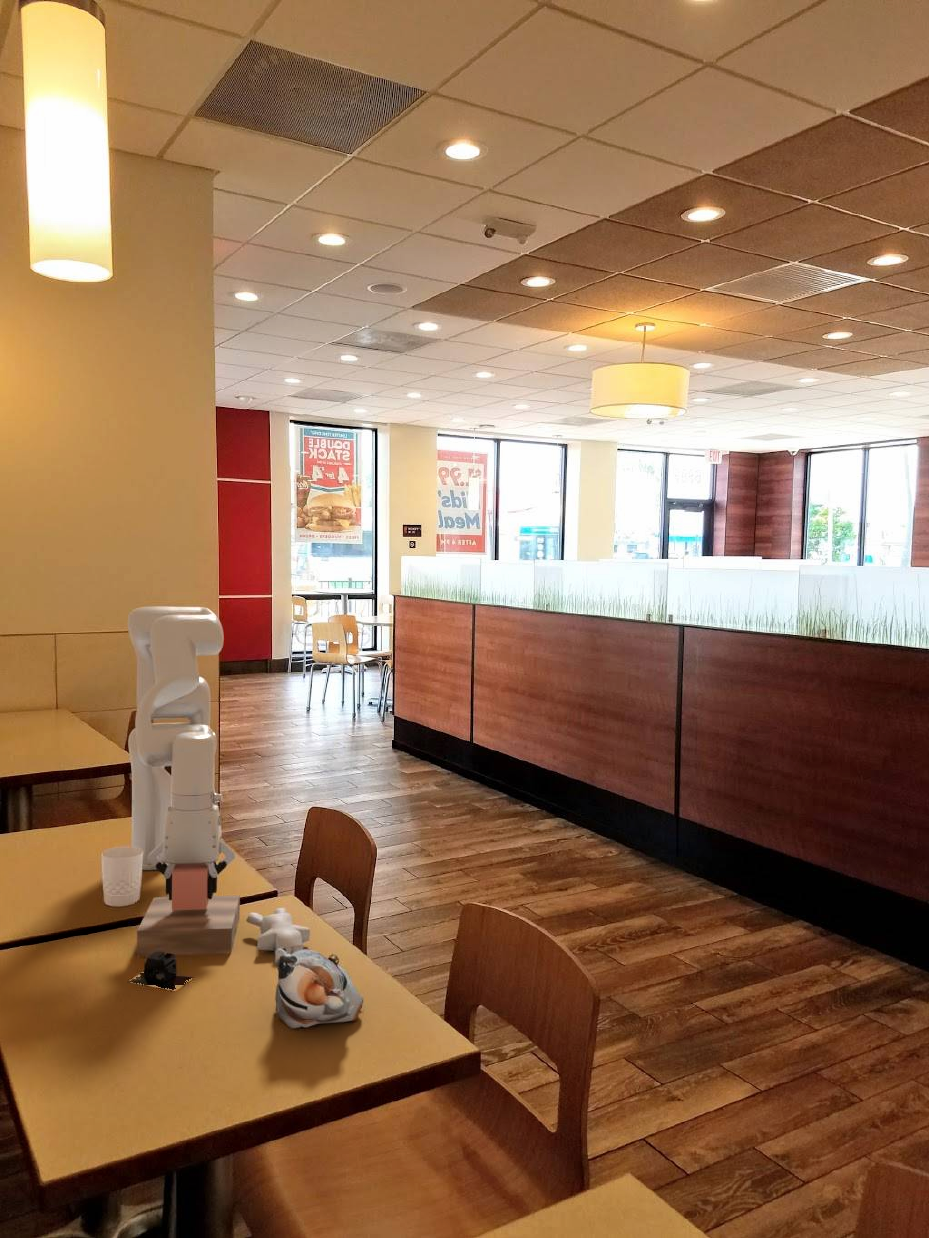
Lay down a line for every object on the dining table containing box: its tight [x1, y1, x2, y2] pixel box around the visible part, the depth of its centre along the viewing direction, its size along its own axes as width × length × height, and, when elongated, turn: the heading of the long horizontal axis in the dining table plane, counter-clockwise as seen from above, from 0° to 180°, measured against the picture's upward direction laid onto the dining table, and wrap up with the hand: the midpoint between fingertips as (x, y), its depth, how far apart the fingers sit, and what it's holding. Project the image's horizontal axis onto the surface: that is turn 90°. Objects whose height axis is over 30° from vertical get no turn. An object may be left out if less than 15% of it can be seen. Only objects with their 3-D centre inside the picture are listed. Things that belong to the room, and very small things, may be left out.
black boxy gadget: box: [129, 951, 194, 990], centre depth 152 cm, size 12×7×5 cm, turn 72°
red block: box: [172, 863, 210, 910], centre depth 169 cm, size 6×6×7 cm
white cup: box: [100, 845, 143, 908], centre depth 186 cm, size 8×8×10 cm
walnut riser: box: [136, 895, 241, 957], centre depth 170 cm, size 16×16×5 cm
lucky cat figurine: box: [274, 947, 364, 1030], centre depth 140 cm, size 15×12×14 cm
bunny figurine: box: [245, 907, 311, 954], centre depth 168 cm, size 10×5×15 cm
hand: (191, 896), depth 170 cm, fingers open, 6 cm apart
